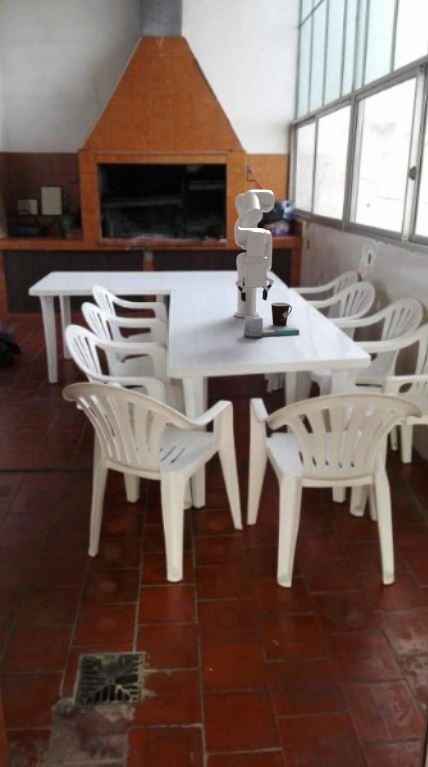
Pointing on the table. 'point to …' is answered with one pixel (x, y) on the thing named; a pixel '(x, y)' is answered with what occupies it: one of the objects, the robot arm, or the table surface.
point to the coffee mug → (280, 313)
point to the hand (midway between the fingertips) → (254, 300)
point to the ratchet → (272, 333)
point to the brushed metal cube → (253, 324)
